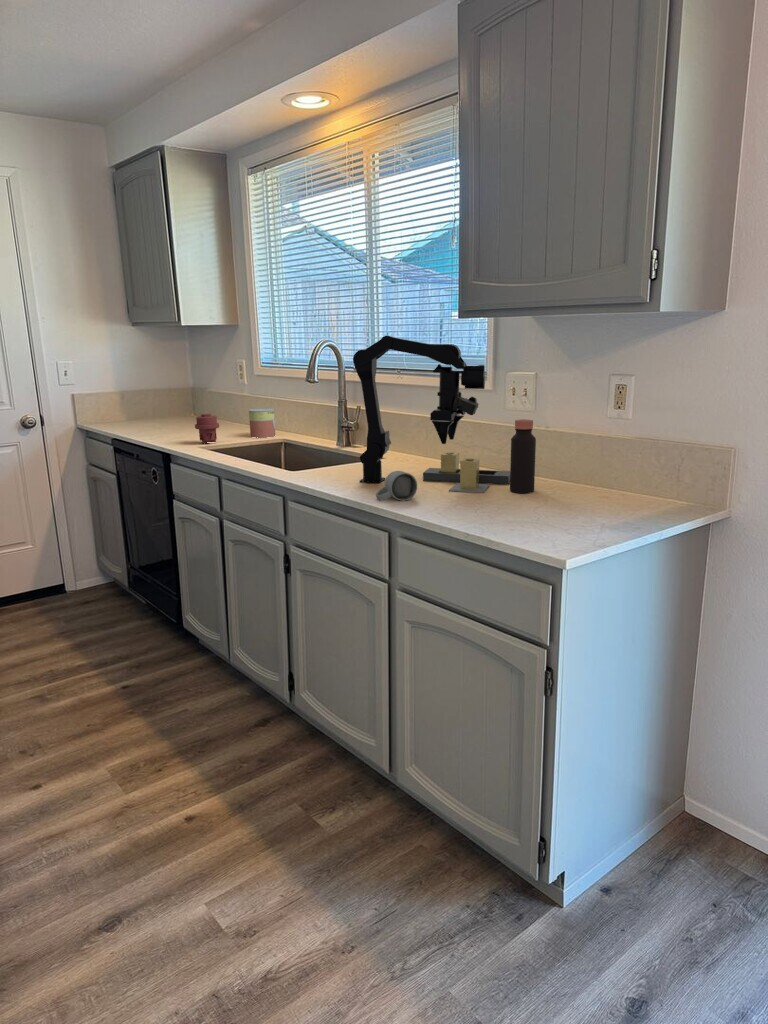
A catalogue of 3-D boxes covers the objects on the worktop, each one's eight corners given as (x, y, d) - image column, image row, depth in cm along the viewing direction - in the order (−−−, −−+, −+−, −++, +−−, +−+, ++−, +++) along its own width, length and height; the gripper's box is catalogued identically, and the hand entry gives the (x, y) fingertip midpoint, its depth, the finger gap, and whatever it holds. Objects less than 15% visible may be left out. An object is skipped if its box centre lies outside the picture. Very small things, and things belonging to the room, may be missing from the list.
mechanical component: (198, 445, 295) (194, 442, 304) (222, 443, 299) (217, 440, 308) (196, 416, 292) (191, 413, 301) (220, 414, 296) (215, 412, 305)
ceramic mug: (408, 493, 200) (407, 466, 198) (418, 499, 193) (417, 472, 191) (372, 497, 197) (371, 470, 195) (381, 503, 190) (379, 475, 188)
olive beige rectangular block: (476, 489, 202) (476, 461, 200) (460, 488, 203) (460, 460, 201) (478, 485, 206) (479, 458, 204) (463, 485, 208) (463, 457, 206)
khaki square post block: (455, 481, 216) (455, 454, 214) (440, 480, 217) (440, 454, 215) (458, 478, 220) (459, 452, 218) (444, 477, 221) (444, 451, 219)
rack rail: (508, 484, 209) (508, 476, 209) (423, 480, 217) (423, 472, 216) (512, 479, 217) (512, 471, 216) (429, 475, 224) (429, 467, 224)
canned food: (277, 437, 314) (275, 410, 311) (251, 438, 312) (249, 411, 309) (274, 434, 325) (272, 407, 322) (249, 435, 322) (247, 409, 319)
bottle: (531, 494, 196) (533, 422, 191) (507, 492, 199) (508, 421, 194) (536, 489, 202) (539, 419, 197) (513, 487, 205) (515, 418, 200)
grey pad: (483, 493, 199) (483, 491, 199) (448, 491, 202) (448, 490, 202) (489, 485, 208) (489, 484, 208) (456, 484, 211) (456, 483, 211)
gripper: (469, 391, 195) (467, 448, 199) (483, 386, 212) (481, 438, 216) (430, 390, 199) (429, 445, 202) (446, 385, 216) (445, 436, 220)
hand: (447, 441), depth 210 cm, fingers open, 9 cm apart
